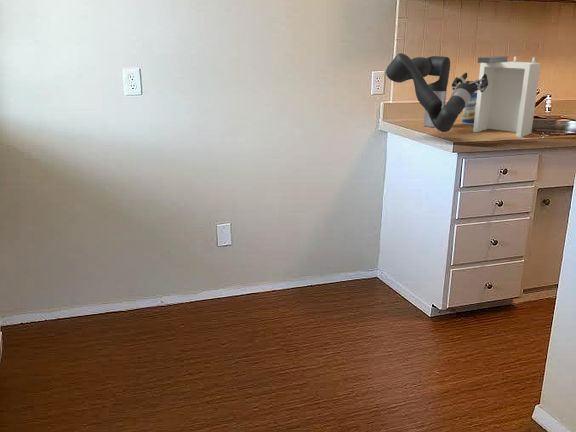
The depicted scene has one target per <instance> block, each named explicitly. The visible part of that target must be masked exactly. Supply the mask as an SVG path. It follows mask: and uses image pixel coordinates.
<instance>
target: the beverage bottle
mask: <svg viewBox="0 0 576 432" xmlns="http://www.w3.org/2000/svg"><path fill="white" fill-rule="evenodd" d="M476 85H477V83H476ZM477 91H478V90H477ZM477 91H475V92H474V95H473V96H472V98H471V99H470V101H469V102H468V104H467V105H466V106H465V107H464V109H463V110H462V111H463V112H462V119H461V123H462V124H463V125H469V126H474V118H475V109H476V100H477Z"/></svg>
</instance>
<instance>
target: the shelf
mask: <svg viewBox="0 0 576 432" xmlns="http://www.w3.org/2000/svg"><path fill="white" fill-rule="evenodd" d="M541 64H542V63H541V62H536V57H535V56H533V57H532V60H531V62H526V61H525V62H524V61H518V56H514V57H513V61H511V60H509V61H508V60H507V61H506V62H496V63H480V64H479V65H480V66H479V74H478V80H480V79H482V77H483V75H484V74H486V75H487V80H488V86H487V87H486V89H485V90H484V91H483V92H480V90H478V91H477V100H476V109H475V118H474V125H473V127H472V128H473V130H472V132H473V133H479V132H483V131H485V130H494V131H495V130H496V131H503V132H514V133H516V134H515V137H516V138H523V137H525V136H528V135H530V134H532V131H533V125H534V124H533V123H534V117H535V110H536V109H535V108H536V103H537V102H536V100H537V93H538V88H539V87H538V86H539V80H540V71H541ZM480 83H481V82H480ZM482 130H483V131H482Z"/></svg>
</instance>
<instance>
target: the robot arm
mask: <svg viewBox="0 0 576 432" xmlns="http://www.w3.org/2000/svg"><path fill="white" fill-rule="evenodd" d="M450 71H451V59H450V57H449V56H444V55H443V56H441V55H440V56H439V55H432V56H429V57H424V56H422V57H413V58H411V57H409V56H408V55H407V54H405V53H401V52H399V53H397V54H396V55H395V56H394V58H393V59H392V60H391V62H390V63H389V64H388V65H387V67H386V69H385V75H386V76H387V78H388V79H389V80H390V81H392V82H394V83H405V82H406V81H409V80H413V86H414V89H415V90H414V91H415V96H416V99H417V101H418V103H419V104H420V105H421V106H422V108H424V116H423V127H430V128H435V129H436V130H438V131H439V132H441V133H447V132H449V131H450V130H451V129H452V127H453V125H454V123H455V122H456V120H457V118H459V115H460V114H462V113H463V112H462V111H463V110H464V107H465V106H466V105H467V104H468V102H469V101H470V99H471V98H472V96H473V95H474V92H475V91H477V90H480V92H483V91H484V90H485V89H486V87H487V86H488V80H487V75H486V74H484V75H483V77H482V79H480V80H479V79H476V80H467V78H468V73H467V72H464V73H462V75H461V76H460V77H455V78H454V80H453V81H452V83H451V89H452V90H453V92H452V94H451V96H450V98H449V99H448V100H446V99H447V91H448V90H447V88H448V85H449V77H450ZM427 76H431V77H438V79H437V80H436V81H434V82H431V83H427V80H425V77H427ZM480 82H481V83H480ZM476 83H477V85H476ZM446 101H447V102H446Z"/></svg>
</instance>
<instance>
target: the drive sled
mask: <svg viewBox="0 0 576 432" xmlns="http://www.w3.org/2000/svg"><path fill="white" fill-rule="evenodd" d="M508 59H509V58H508V56H503V55H500V56H499V55H495V56H482V57H481V56H479V57H477V63H478V64H479V63H480V64H481V63H496V62H506V61H508Z"/></svg>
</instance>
